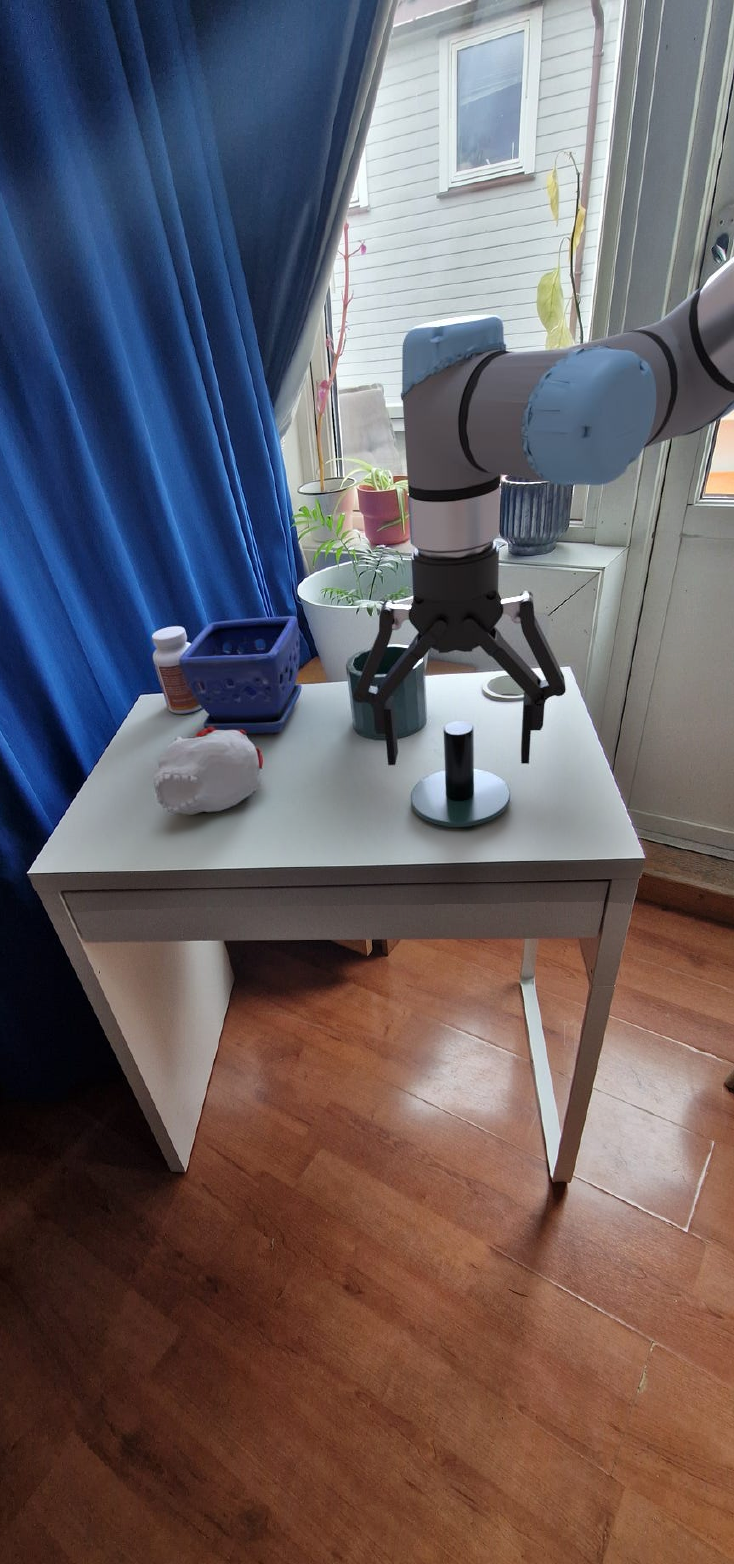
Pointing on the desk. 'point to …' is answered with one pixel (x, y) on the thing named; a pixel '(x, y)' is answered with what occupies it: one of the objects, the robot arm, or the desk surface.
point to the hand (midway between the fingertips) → (457, 758)
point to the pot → (405, 696)
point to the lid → (460, 785)
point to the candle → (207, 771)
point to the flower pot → (245, 673)
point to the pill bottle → (173, 669)
